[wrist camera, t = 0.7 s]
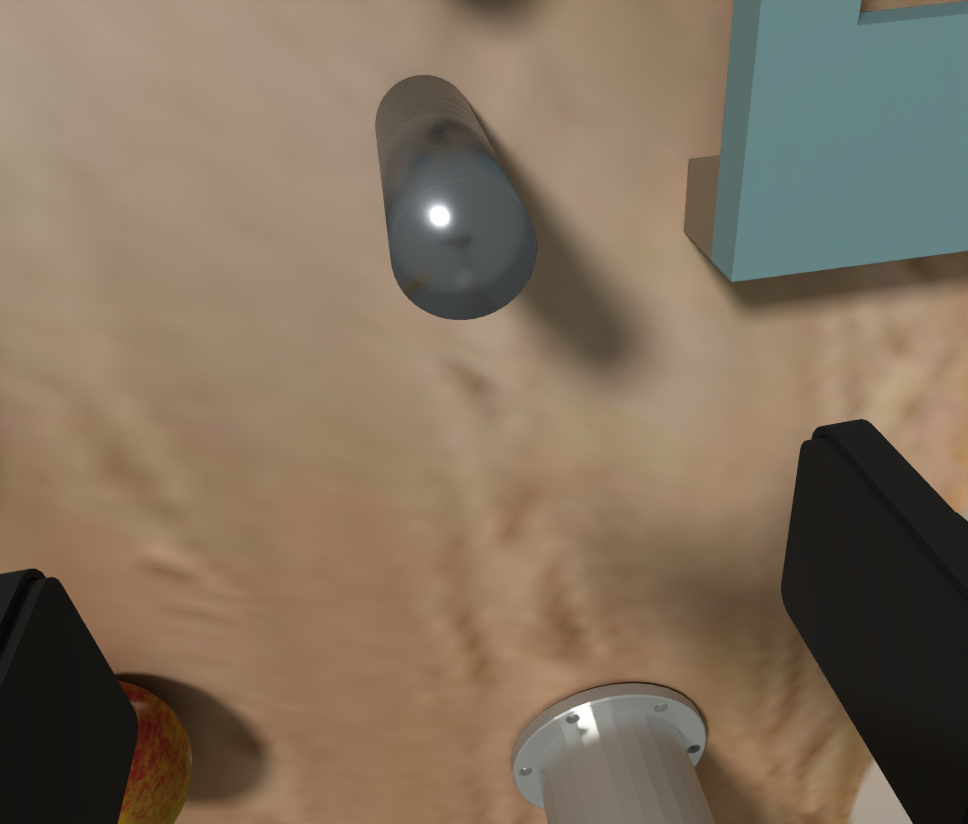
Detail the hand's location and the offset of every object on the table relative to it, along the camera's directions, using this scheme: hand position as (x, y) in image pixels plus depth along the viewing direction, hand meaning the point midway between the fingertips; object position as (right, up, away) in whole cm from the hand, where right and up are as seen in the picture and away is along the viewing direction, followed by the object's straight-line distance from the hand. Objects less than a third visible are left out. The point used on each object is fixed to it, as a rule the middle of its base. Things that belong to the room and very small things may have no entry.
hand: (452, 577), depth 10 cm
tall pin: (-2, +13, +19) cm, 23 cm away
